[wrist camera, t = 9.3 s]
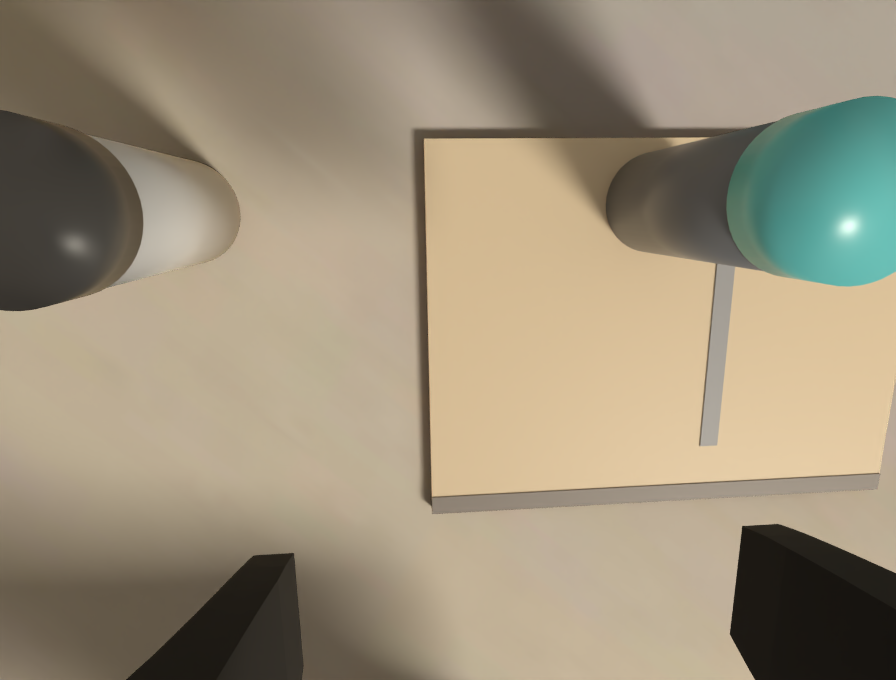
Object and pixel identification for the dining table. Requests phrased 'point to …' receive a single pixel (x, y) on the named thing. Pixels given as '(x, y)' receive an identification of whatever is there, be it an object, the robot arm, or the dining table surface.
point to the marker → (772, 196)
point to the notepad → (628, 348)
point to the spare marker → (99, 213)
